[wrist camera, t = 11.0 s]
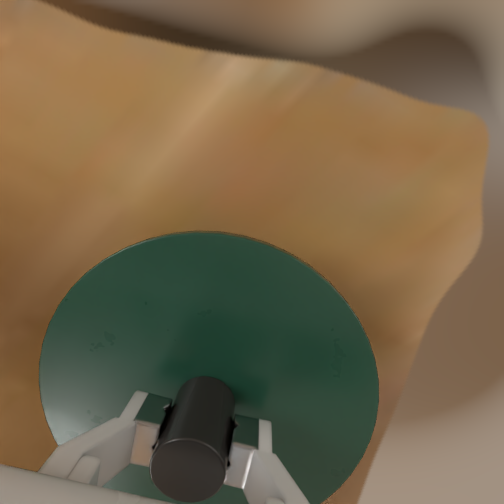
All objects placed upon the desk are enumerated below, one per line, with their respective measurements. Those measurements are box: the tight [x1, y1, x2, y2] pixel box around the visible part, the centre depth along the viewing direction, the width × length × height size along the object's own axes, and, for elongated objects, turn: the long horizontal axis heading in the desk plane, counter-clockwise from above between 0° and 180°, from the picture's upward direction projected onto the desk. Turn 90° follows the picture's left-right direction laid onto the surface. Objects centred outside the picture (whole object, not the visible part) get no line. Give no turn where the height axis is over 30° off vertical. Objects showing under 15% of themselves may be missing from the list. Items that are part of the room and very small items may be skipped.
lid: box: [39, 231, 379, 504], centre depth 13 cm, size 15×15×5 cm
